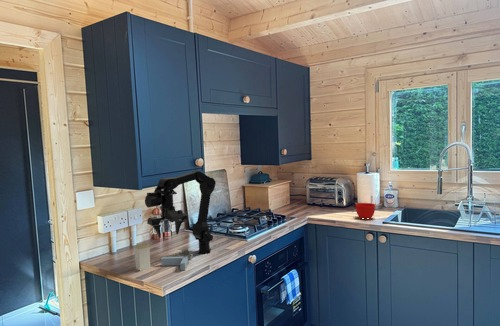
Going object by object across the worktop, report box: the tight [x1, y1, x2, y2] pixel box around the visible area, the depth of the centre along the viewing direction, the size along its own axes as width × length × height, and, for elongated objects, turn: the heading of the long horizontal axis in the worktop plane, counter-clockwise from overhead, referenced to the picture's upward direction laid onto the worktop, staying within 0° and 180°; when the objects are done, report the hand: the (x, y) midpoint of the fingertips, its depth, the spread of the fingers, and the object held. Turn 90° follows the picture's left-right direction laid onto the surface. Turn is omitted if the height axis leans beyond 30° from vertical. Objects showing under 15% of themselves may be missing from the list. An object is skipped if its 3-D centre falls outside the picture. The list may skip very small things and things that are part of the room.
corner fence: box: [160, 256, 190, 272], centre depth 167 cm, size 10×12×4 cm
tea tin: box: [133, 242, 151, 272], centre depth 167 cm, size 5×5×11 cm
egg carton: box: [168, 248, 194, 261], centre depth 177 cm, size 11×8×4 cm
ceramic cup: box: [355, 202, 376, 220], centre depth 253 cm, size 13×17×10 cm
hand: (168, 236), depth 173 cm, fingers open, 9 cm apart
